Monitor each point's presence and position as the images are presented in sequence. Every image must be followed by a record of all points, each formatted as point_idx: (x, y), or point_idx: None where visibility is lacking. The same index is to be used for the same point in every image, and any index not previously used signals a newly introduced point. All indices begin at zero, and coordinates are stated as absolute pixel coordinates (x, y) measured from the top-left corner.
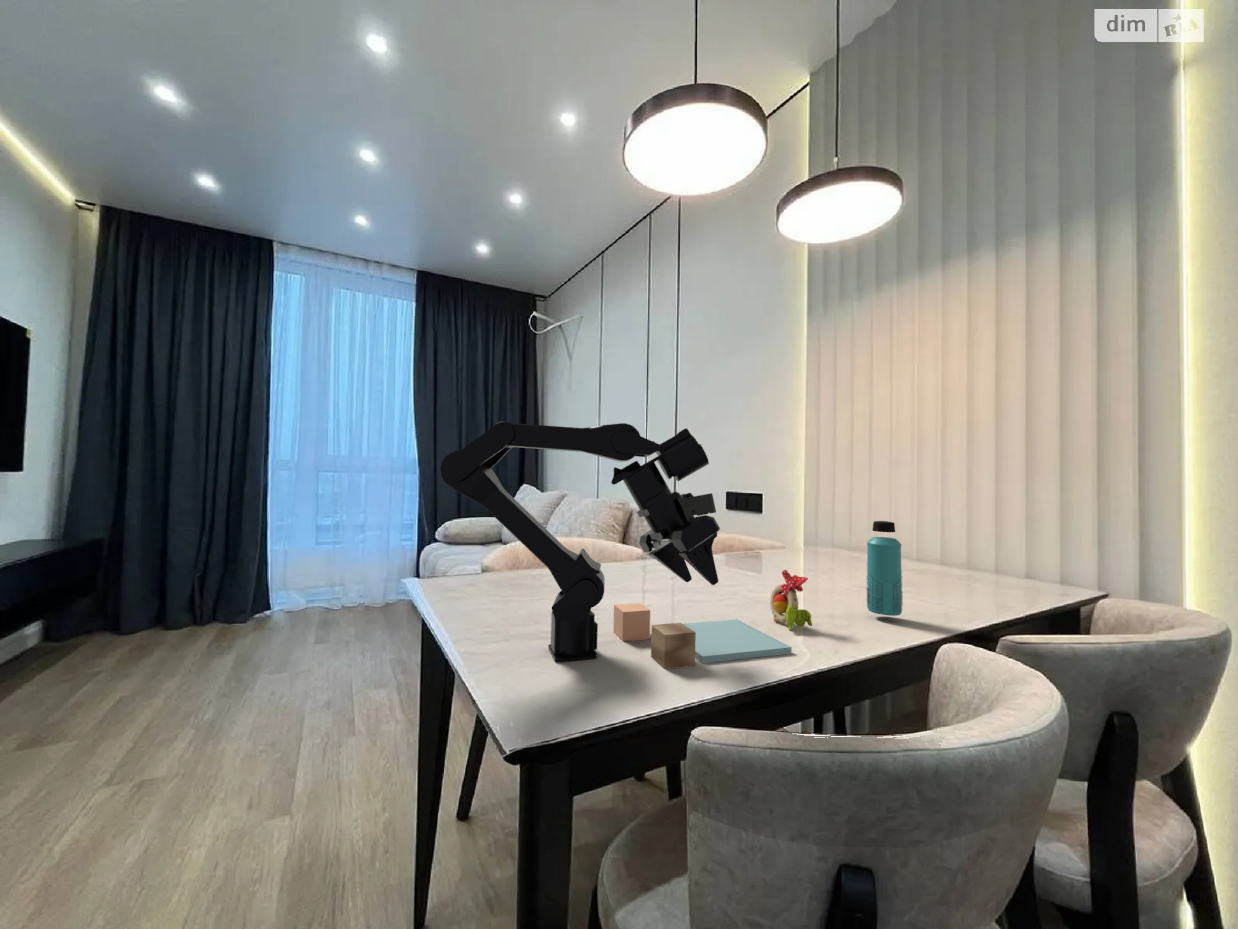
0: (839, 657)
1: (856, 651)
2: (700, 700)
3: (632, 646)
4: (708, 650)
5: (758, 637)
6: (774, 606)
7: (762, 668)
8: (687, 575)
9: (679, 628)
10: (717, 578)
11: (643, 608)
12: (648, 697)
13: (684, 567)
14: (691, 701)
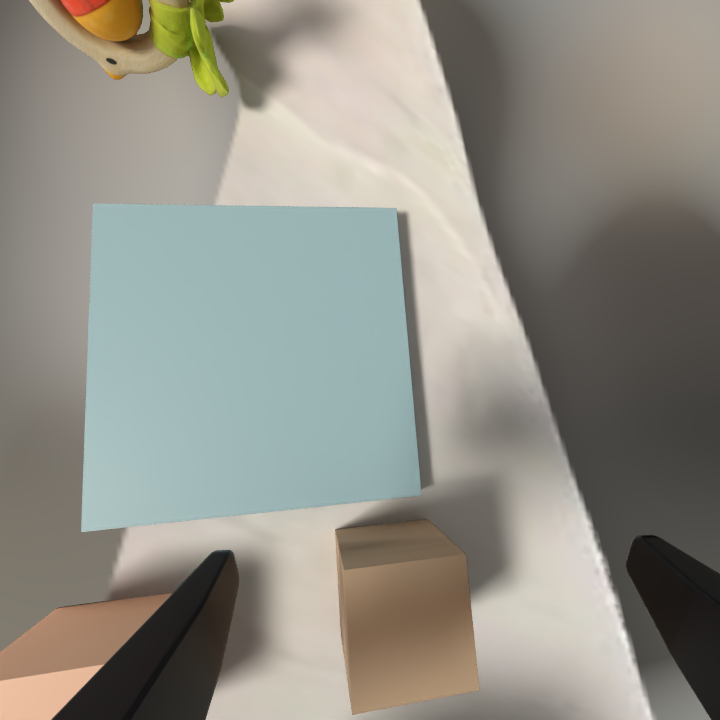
0: (435, 124)
1: (406, 57)
2: (610, 583)
3: (233, 678)
4: (379, 456)
5: (301, 247)
6: (96, 31)
7: (469, 348)
8: (220, 602)
9: (415, 603)
10: (683, 554)
11: (75, 692)
12: (587, 710)
13: (181, 674)
14: (613, 606)
